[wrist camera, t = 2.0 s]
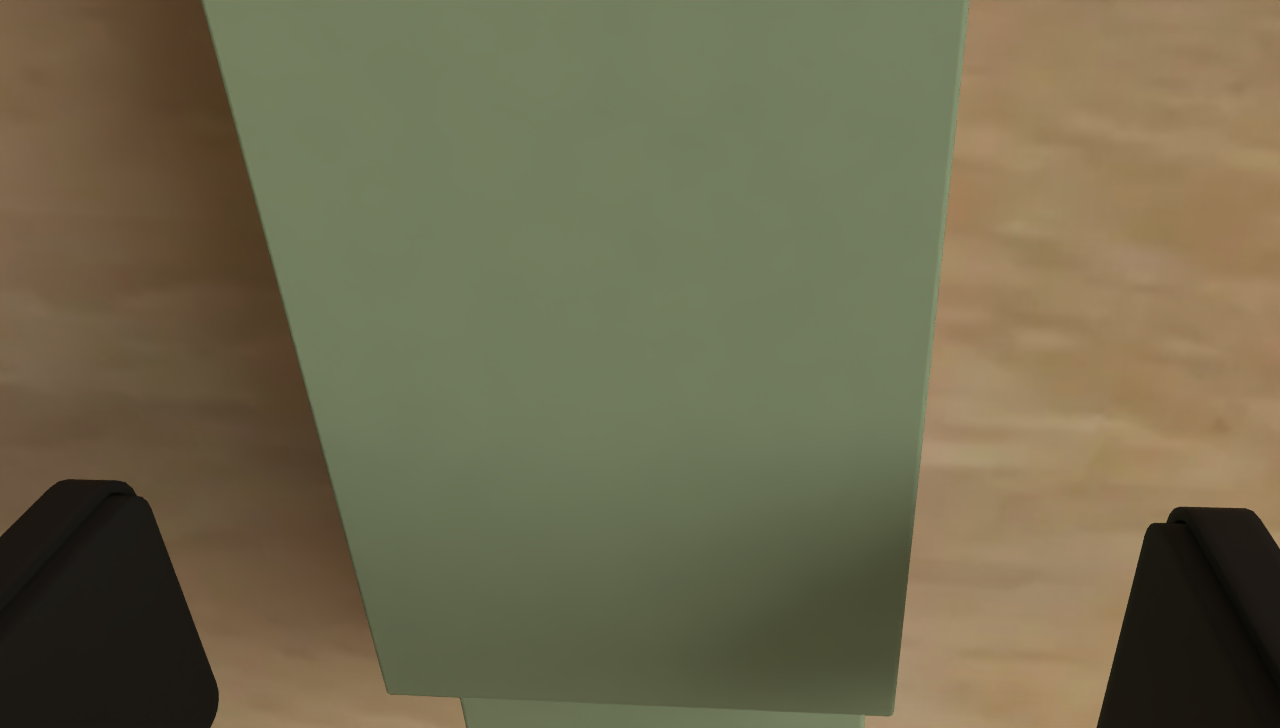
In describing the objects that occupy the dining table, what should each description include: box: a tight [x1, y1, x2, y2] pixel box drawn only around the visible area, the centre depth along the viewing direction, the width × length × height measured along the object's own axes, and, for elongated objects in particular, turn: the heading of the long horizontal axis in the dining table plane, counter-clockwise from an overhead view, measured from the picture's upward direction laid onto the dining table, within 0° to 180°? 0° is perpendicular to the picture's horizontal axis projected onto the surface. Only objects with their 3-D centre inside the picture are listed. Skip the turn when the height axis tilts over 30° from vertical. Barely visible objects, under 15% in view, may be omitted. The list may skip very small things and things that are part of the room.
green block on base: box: [201, 0, 969, 728], centre depth 13 cm, size 16×6×6 cm, turn 3°
